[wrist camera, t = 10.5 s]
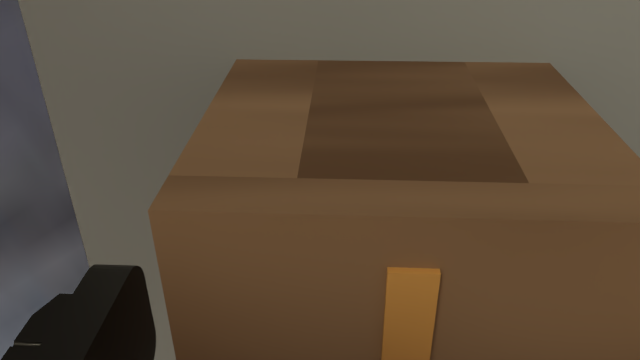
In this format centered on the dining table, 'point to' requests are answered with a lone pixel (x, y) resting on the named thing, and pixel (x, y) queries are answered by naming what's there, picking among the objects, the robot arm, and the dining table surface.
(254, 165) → the cardboard box
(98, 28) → the base plate
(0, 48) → the dining table surface
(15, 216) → the dining table surface
